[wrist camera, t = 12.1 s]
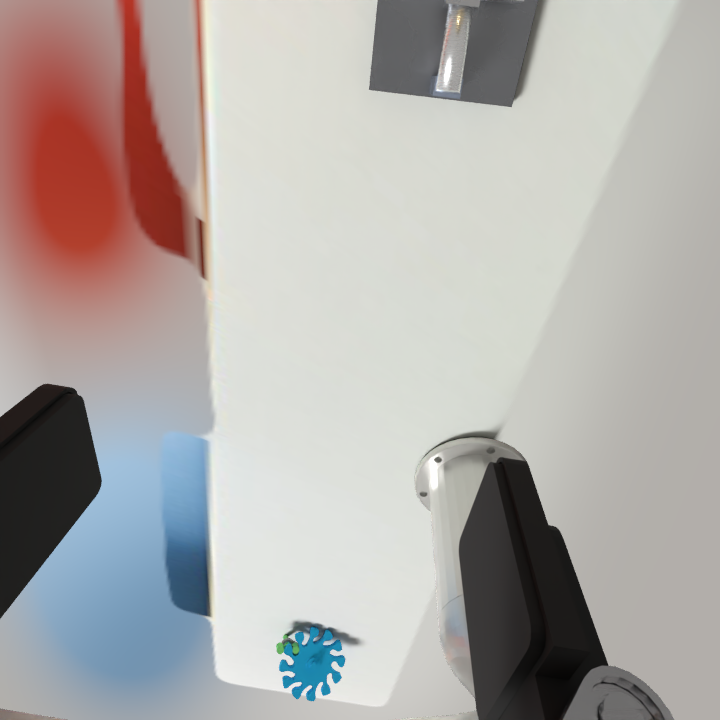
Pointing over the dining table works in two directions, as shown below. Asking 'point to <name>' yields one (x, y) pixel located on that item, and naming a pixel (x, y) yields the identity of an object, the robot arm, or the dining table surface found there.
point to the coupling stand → (451, 48)
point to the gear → (310, 662)
